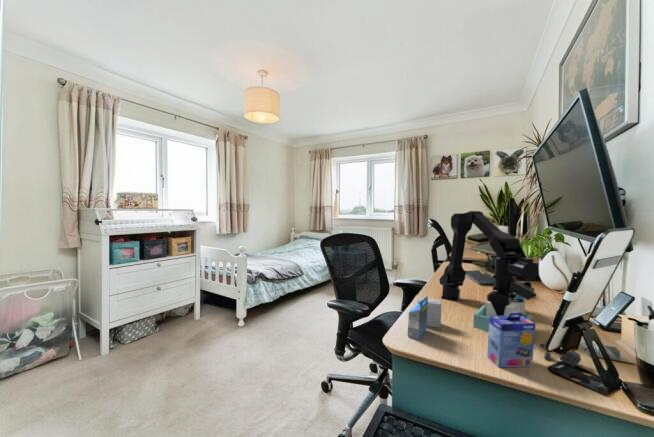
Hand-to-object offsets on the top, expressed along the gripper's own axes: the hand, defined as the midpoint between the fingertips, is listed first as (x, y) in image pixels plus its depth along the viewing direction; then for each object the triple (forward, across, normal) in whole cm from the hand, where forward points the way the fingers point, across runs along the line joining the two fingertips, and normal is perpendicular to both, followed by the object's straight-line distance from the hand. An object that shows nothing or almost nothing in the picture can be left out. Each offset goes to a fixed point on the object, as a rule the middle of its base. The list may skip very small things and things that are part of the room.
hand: (502, 316), depth 96 cm
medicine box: (+4, -15, +20) cm, 25 cm away
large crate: (+4, 0, 0) cm, 4 cm away
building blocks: (+4, -13, -16) cm, 21 cm away
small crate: (+1, 0, 0) cm, 1 cm away
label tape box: (+4, -24, +20) cm, 32 cm away
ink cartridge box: (+4, -23, -6) cm, 24 cm away
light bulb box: (+4, +19, +1) cm, 20 cm away
